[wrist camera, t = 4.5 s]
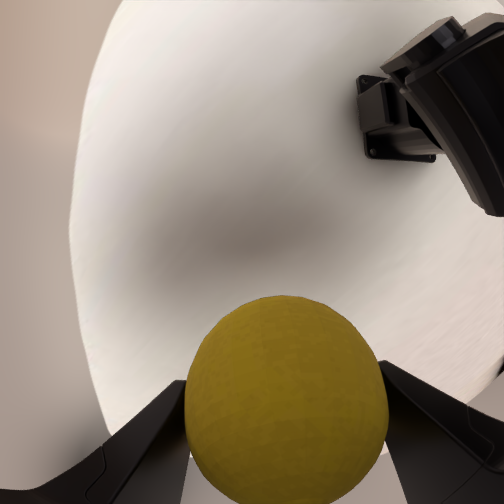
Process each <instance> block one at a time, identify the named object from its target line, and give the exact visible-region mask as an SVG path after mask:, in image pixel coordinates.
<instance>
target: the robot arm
mask: <svg viewBox="0 0 504 504" xmlns="http://www.w3.org/2000/svg"><path fill="white" fill-rule="evenodd" d="M380 68H381V69H382V70H383V71H384V72H385V73H386V74H389V75H390V76H391V77H390V78H382V77H376V76H369V75H361V76H359V77H358V78H357V87H358V94H359V96H358V97H357V105H358V113H359V121H360V129H361V131H362V132H363V135H364V146H365V154H366V156H367V157H368V158H369V159H380V160H399V161H414V162H426V163H434V162H435V160H436V154H446V155H447V157H448V158H449V160H450V162H451V163H452V165H453V167H454V168H455V170H456V172H457V173H458V175H459V177H460V179H461V181H462V182H463V184H464V186H465V188H466V190H467V192H468V194H469V196H470V198H471V200H472V201H473V202H474V203H475V204H477V205H478V206H479V207H481V208H483V209H484V210H485V213H486V214H487V215H491V216H496V217H504V15H500V14H494V13H484V14H482V15H480V16H478V17H477V18H475V19H473V20H471V21H470V22H468V23H466V24H464V25H463V26H461V25H460V24H459V23H458V22H457V21H456V19H455V18H454V17H453V16H450V17H447V18H444V19H441V20H438V21H437V22H435V23H434V24H432V25H431V26H429V27H428V28H427V29H425V30H424V31H422V32H421V33H420V34H418V35H417V36H416V37H415V38H413V39H412V40H411V41H410V42H409V43H407V44H406V45H405V46H404V47H403V48H401V49H400V50H399V51H398V52H397V53H396V54H394V55H393V56H392V57H391V58H390V59H389V60H387V61H386V62H385V63H384V64H383V65H382V66H381V67H380ZM362 79H363V80H365V82H366V84H364V83H363V82H362ZM371 149H372V150H373V151H374V155H371V153H370V150H371ZM429 155H431V159H430V158H429ZM378 365H379V367H380V370H381V374H382V378H383V382H384V386H385V390H386V395H387V400H388V410H389V421H388V430H387V434H386V437H385V442H386V445H387V447H388V450H389V452H390V455H391V458H392V460H393V463H394V466H395V469H396V471H397V474H398V477H399V480H400V483H401V485H402V488H403V491H404V494H405V497H406V500H407V503H408V504H504V422H503V421H500V420H498V419H495V418H493V417H491V416H488V415H486V414H484V413H482V412H480V411H478V410H476V409H474V408H472V407H470V406H468V407H467V405H466V404H464V403H463V402H461V401H459V400H457V399H455V398H453V397H451V396H449V395H448V394H446V393H444V392H442V391H440V390H438V389H437V388H435V387H433V386H431V385H429V384H428V383H426V382H424V381H422V380H420V379H418V378H417V377H415V376H413V375H411V374H410V373H408V372H406V371H404V370H402V369H401V368H399V367H397V366H395V365H394V364H392V363H390V362H388V361H386V360H382V361H378ZM186 382H187V380H175V381H173V382H172V383H171V384H170V385H169V386H168V387H167V388H166V389H164V390H163V391H162V392H161V393H160V394H159V395H158V396H157V397H156V398H155V399H154V400H152V401H151V402H150V403H149V404H148V405H147V406H146V407H145V408H144V409H142V410H141V411H140V412H139V413H138V414H137V415H136V416H135V417H133V418H132V419H131V420H130V421H129V422H128V423H127V424H126V425H124V426H123V427H122V428H121V429H120V430H119V431H117V432H116V433H115V434H114V435H113V436H112V437H111V438H109V439H108V440H107V441H106V442H105V443H103V445H102V446H100V447H99V448H97V449H96V450H95V451H94V452H93V453H91V454H90V455H89V456H87V457H86V458H85V459H84V460H82V461H81V462H79V463H78V464H76V465H75V466H73V467H72V468H71V469H69V470H67V471H65V472H64V473H62V474H61V475H59V476H57V477H55V478H54V479H52V480H50V481H49V482H47V483H45V484H43V485H41V486H39V487H37V488H34V489H30V490H9V489H0V504H180V501H181V497H182V491H183V486H184V481H185V476H186V470H187V466H188V460H189V456H190V448H189V445H188V441H187V436H186V430H185V413H184V410H185V388H186Z"/></svg>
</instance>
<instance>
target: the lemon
mask: <svg viewBox="0 0 504 504" xmlns="http://www.w3.org/2000/svg"><path fill="white" fill-rule="evenodd" d="M184 413H185V430H186V436H187V441H188V445H189V448H190V451H191V454H192V456H193V458H194V460H195V462H196V464H197V466H198V467H199V469H200V471H201V472H202V474H203V476H204V477H205V478H206V479H207V480H208V481H209V482H210V483H211V484H212V485H213V486H214V487H215V488H216V489H218V490H219V491H220V492H222V493H223V494H224V495H226V496H227V497H228V498H230V499H231V500H233V501H235V502H237V503H239V504H330V503H332V502H334V501H336V500H337V499H339V498H341V497H342V496H344V495H345V494H347V493H348V492H349V491H351V490H352V489H353V488H354V487H355V486H356V485H357V484H358V483H360V482H361V480H362V479H363V478H364V477H365V475H366V474H367V473H368V472H369V471H370V469H371V468H372V467H373V465H374V464H375V463H376V461H377V459H378V457H379V455H380V453H381V451H382V448H383V444H384V441H385V437H386V434H387V430H388V421H389V410H388V400H387V395H386V390H385V386H384V382H383V378H382V374H381V370H380V367H379V365H378V362H377V359H376V357H375V355H374V353H373V351H372V350H371V348H370V347H369V345H368V344H367V342H366V341H365V340H364V338H363V337H362V336H361V334H360V333H359V332H358V330H357V329H356V328H355V327H354V326H353V325H352V323H351V322H349V321H348V320H347V319H346V318H345V317H343V316H342V315H340V314H339V313H337V312H336V311H334V310H333V309H331V308H330V307H328V306H326V305H325V304H322V303H319V302H316V301H313V300H310V299H307V298H303V297H296V296H284V295H280V296H273V297H265V298H260V299H257V300H255V301H252V302H249V303H247V304H244V305H242V306H240V307H239V308H237V309H236V310H234V311H233V312H231V313H230V314H228V315H227V316H225V317H223V318H222V319H221V320H220V321H219V322H218V324H217V325H216V326H215V327H214V328H213V329H212V330H211V331H210V332H209V334H208V335H207V336H206V337H205V338H204V340H203V341H202V343H201V345H200V347H199V349H198V351H197V354H196V356H195V358H194V360H193V363H192V365H191V367H190V370H189V373H188V377H187V382H186V388H185V410H184Z"/></svg>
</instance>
